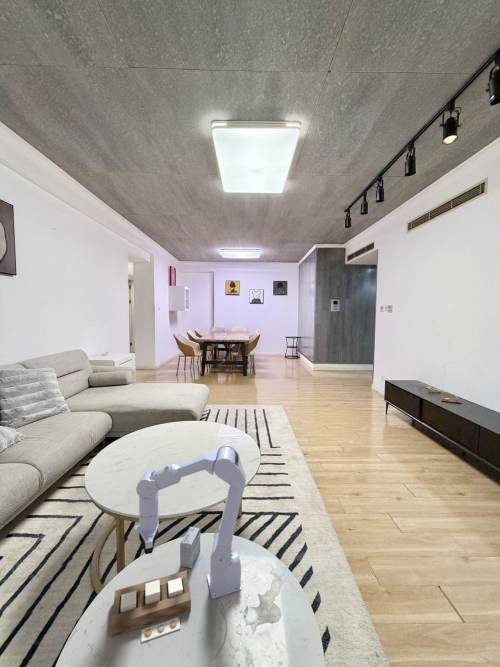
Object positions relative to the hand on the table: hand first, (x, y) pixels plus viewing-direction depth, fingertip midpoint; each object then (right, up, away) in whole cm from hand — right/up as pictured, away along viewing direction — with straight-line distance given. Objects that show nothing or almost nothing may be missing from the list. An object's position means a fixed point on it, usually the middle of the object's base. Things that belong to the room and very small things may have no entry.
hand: (148, 552), depth 90 cm
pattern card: (+8, -12, -13) cm, 19 cm away
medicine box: (+11, -10, +10) cm, 18 cm away
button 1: (-3, -10, -9) cm, 13 cm away
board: (+3, -11, -6) cm, 13 cm away
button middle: (+4, -8, -7) cm, 11 cm away
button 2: (+10, -10, -4) cm, 14 cm away
